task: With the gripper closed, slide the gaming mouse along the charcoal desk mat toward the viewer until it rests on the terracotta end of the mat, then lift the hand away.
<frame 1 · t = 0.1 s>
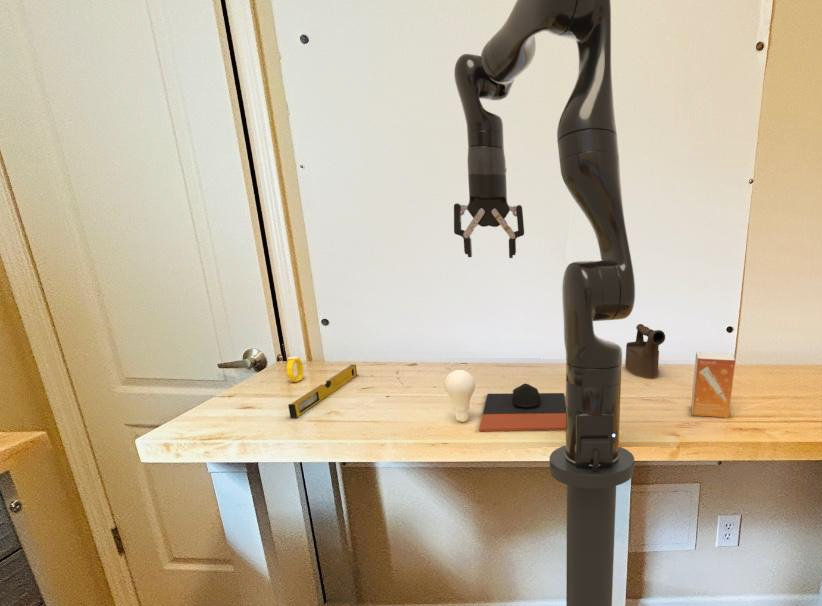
hand: (490, 257, 127), 32 cm above the table, tool pointing down, fingers open, 8 cm apart
gaming mouse: (525, 400, 139), resting on desk mat
small box: (709, 413, 135), on the table
yellow ring: (297, 381, 151), on the table
spirit level: (327, 395, 141), on the table
desk mat: (525, 411, 133), on the table
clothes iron: (644, 373, 166), on the table
lightbulb: (462, 422, 126), on the table
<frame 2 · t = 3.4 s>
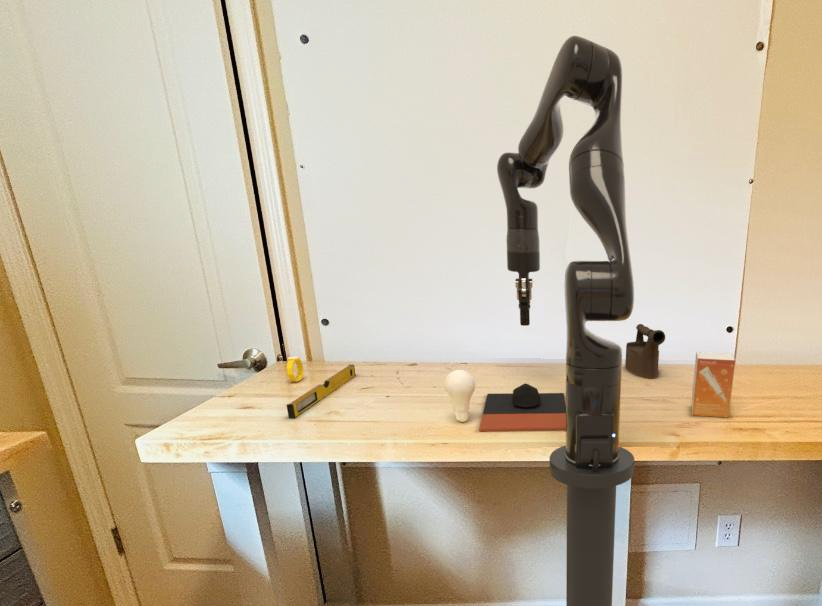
hand: (525, 324, 146), 15 cm above the table, tool pointing down, fingers closed
nothing on the table moved.
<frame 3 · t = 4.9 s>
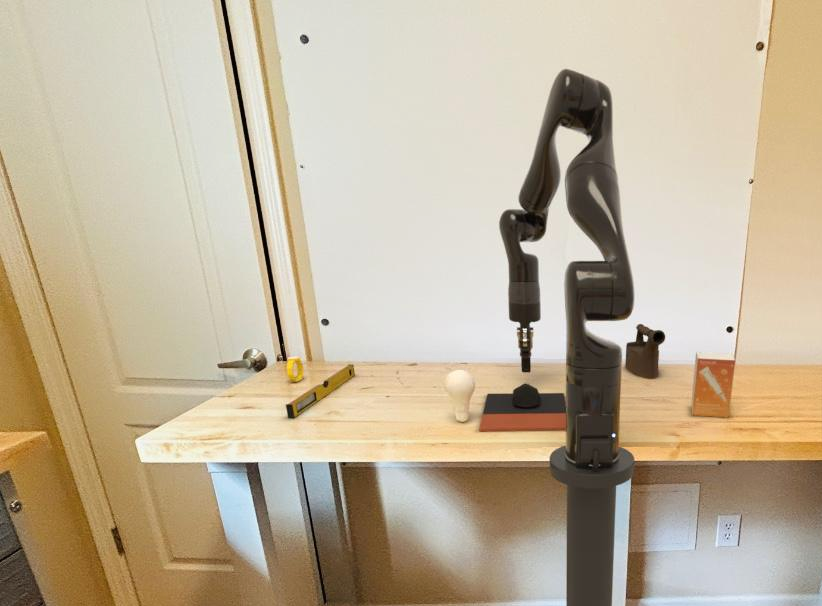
hand: (526, 371, 149), 4 cm above the table, tool pointing down, fingers closed
nothing on the table moved.
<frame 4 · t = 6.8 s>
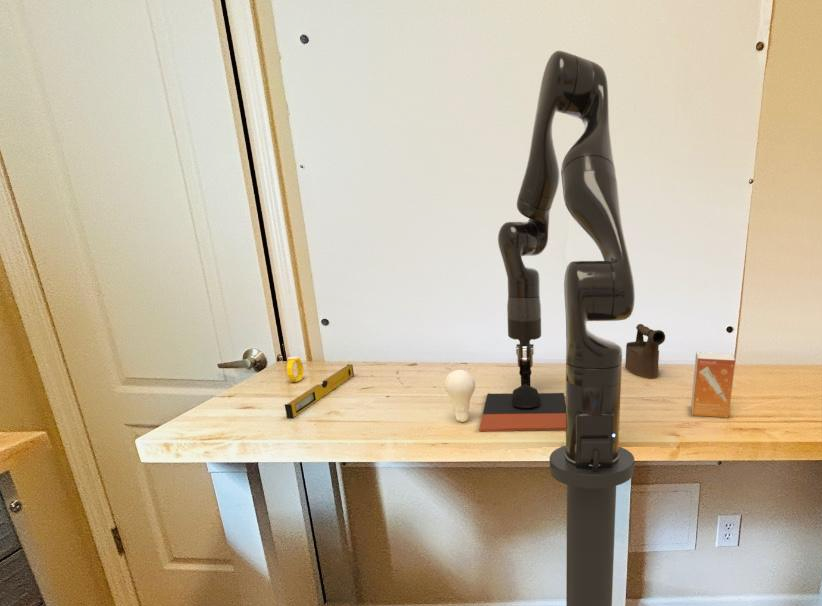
hand: (525, 390, 142), 2 cm above the table, tool pointing down, fingers closed
gaming mouse: (525, 401, 139), resting on desk mat, touching gripper
everything else where it was.
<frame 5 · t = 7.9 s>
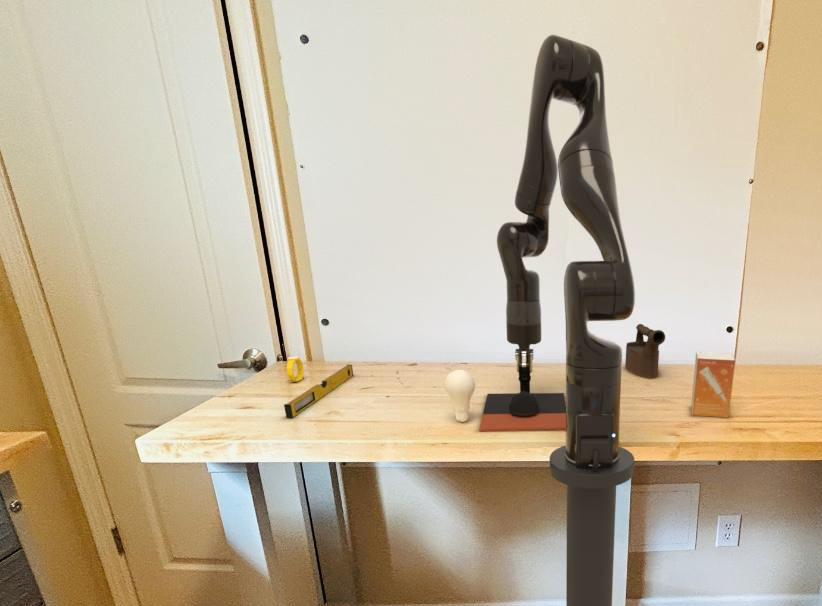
hand: (525, 396, 138), 2 cm above the table, tool pointing down, fingers closed
gaming mouse: (524, 408, 134), resting on desk mat, touching gripper
everything else where it was.
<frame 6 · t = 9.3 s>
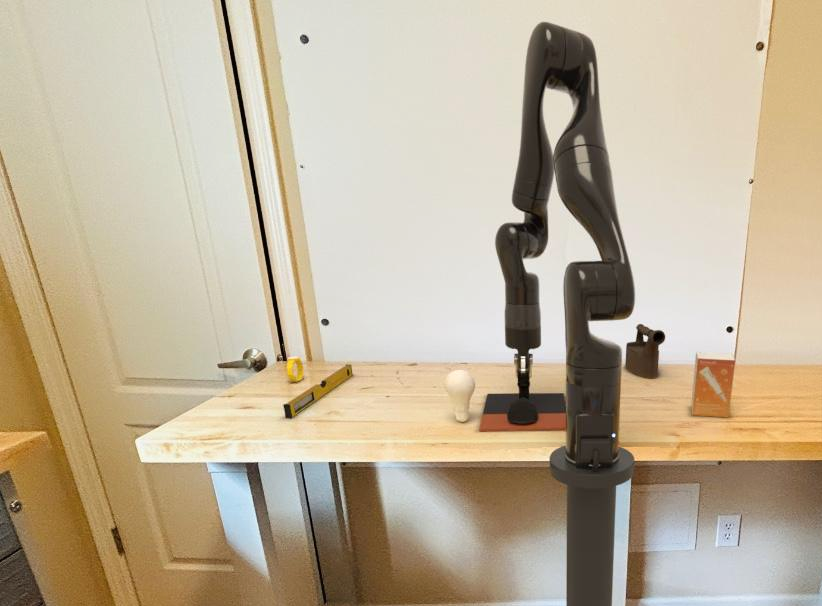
hand: (524, 402, 133), 2 cm above the table, tool pointing down, fingers closed
gaming mouse: (523, 415, 129), resting on desk mat, touching gripper
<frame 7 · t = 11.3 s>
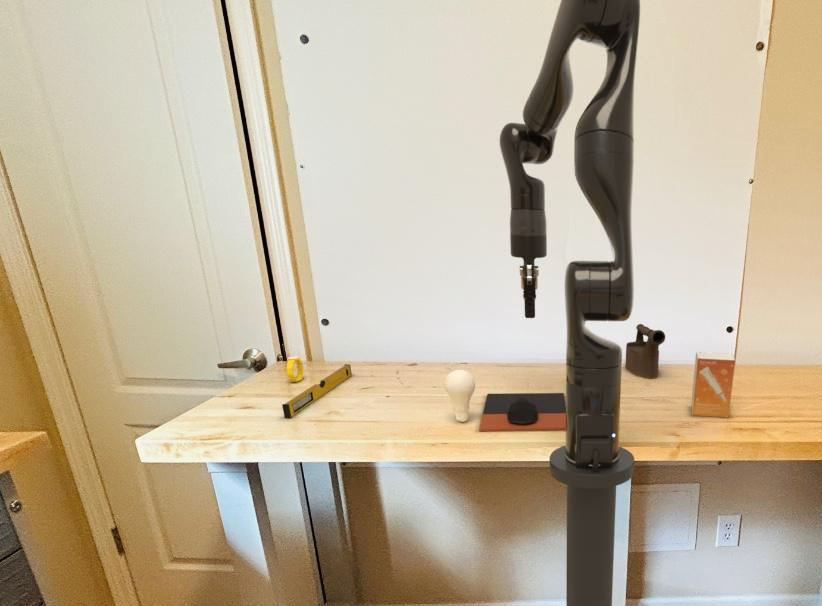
hand: (530, 317, 131), 20 cm above the table, tool pointing down, fingers closed
gaming mouse: (523, 415, 129), resting on desk mat
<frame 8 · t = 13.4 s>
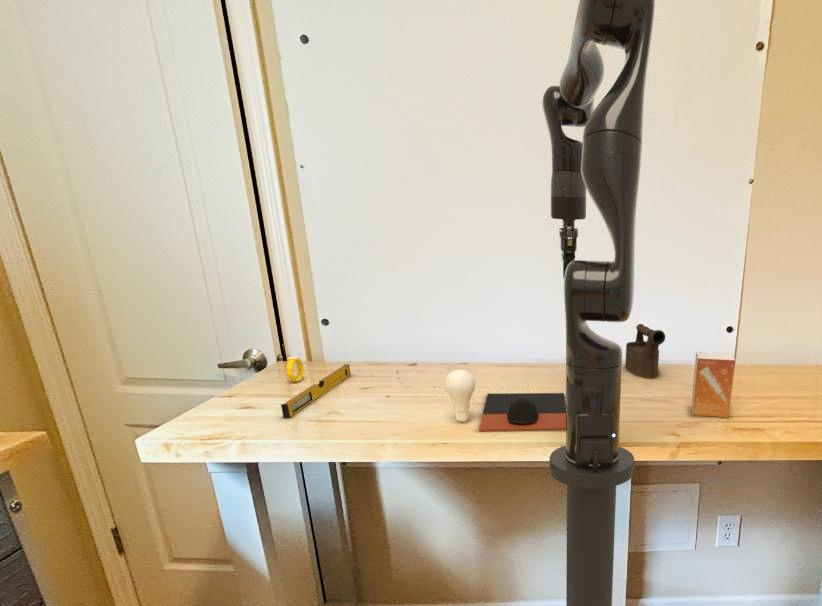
hand: (568, 279, 135), 27 cm above the table, tool pointing down, fingers closed
at the end: gaming mouse inside the target area (1.9 cm from its centre), resting on desk mat; gaming mouse moved 10.6 cm from its start; gaming mouse tilted 0° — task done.
